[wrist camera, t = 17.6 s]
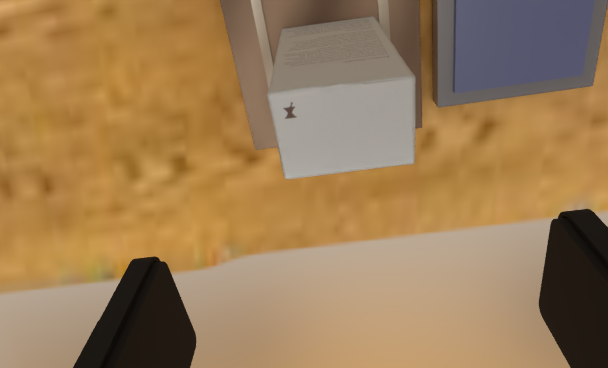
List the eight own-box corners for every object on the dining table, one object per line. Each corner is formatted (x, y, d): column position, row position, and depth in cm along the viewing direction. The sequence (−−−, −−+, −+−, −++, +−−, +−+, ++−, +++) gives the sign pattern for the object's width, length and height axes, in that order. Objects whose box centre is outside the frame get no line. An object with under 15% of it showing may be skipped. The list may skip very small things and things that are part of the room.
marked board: (414, -67, 26) (418, -66, 25) (419, 121, 32) (423, 129, 31) (216, -32, 27) (212, -30, 26) (256, 144, 33) (255, 151, 32)
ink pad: (606, -71, 26) (624, -70, 24) (581, 79, 31) (596, 88, 29) (431, -42, 27) (439, -39, 25) (433, 100, 31) (439, 109, 30)
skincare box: (291, 92, 30) (280, 182, 20) (280, 27, 28) (262, 91, 18) (381, 80, 30) (417, 167, 19) (377, 13, 28) (416, 71, 17)
